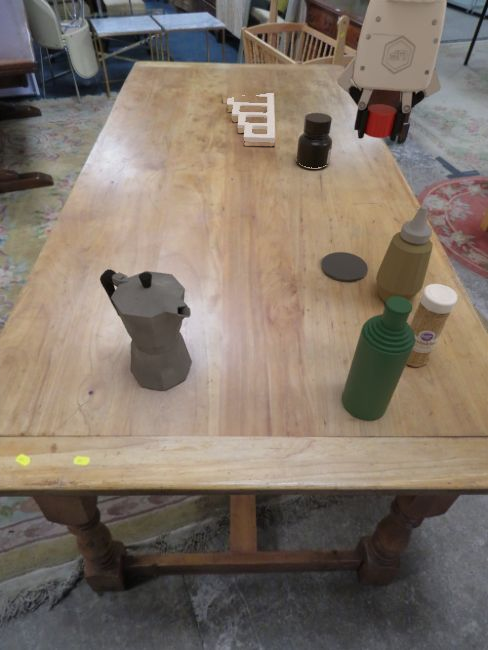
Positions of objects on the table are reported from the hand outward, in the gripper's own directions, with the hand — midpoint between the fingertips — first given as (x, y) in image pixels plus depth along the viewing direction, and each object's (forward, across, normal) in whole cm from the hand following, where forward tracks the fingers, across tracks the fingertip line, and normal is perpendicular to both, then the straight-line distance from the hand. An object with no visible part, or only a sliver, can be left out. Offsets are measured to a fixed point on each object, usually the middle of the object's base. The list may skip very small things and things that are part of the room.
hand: (376, 135), depth 65 cm
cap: (-1, 0, 0) cm, 1 cm away
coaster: (+26, 0, +2) cm, 27 cm away
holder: (+27, -30, +78) cm, 88 cm away
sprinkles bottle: (+27, +10, -20) cm, 35 cm away
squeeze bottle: (+27, +9, -5) cm, 29 cm away
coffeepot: (+27, -29, -28) cm, 48 cm away
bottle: (+26, +2, -30) cm, 40 cm away
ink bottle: (+27, -8, +48) cm, 56 cm away
